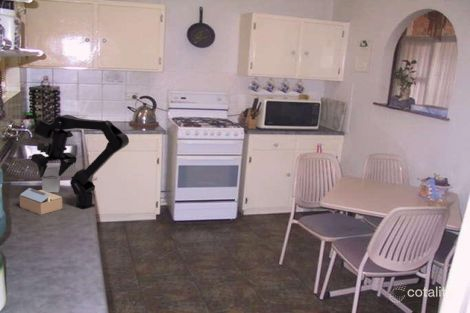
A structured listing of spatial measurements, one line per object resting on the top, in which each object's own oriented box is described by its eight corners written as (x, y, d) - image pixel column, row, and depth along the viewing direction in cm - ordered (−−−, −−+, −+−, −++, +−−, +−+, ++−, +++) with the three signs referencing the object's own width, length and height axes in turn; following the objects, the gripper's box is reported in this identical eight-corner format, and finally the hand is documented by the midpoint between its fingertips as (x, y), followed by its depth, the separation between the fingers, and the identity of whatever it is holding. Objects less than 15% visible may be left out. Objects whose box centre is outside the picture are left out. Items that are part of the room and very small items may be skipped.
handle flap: (50, 195, 179) (49, 194, 178) (40, 202, 175) (40, 201, 175) (29, 188, 185) (29, 187, 185) (20, 195, 182) (19, 194, 182)
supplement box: (41, 192, 204) (41, 166, 201) (44, 188, 211) (43, 162, 208) (58, 192, 206) (58, 166, 203) (60, 187, 213) (60, 162, 210)
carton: (62, 209, 185) (62, 194, 183) (40, 215, 176) (40, 199, 175) (41, 201, 192) (41, 187, 190) (19, 207, 183) (19, 192, 182)
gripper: (65, 135, 198) (57, 167, 202) (27, 136, 182) (19, 170, 186) (81, 145, 193) (72, 177, 197) (43, 146, 177) (34, 181, 181)
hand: (50, 176), depth 190 cm, fingers open, 9 cm apart
